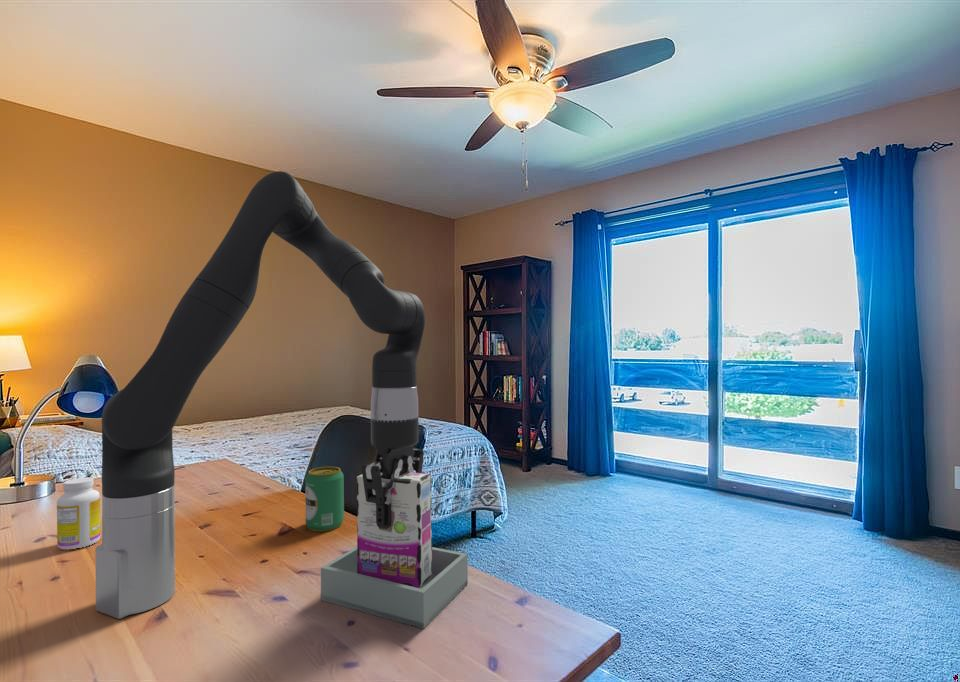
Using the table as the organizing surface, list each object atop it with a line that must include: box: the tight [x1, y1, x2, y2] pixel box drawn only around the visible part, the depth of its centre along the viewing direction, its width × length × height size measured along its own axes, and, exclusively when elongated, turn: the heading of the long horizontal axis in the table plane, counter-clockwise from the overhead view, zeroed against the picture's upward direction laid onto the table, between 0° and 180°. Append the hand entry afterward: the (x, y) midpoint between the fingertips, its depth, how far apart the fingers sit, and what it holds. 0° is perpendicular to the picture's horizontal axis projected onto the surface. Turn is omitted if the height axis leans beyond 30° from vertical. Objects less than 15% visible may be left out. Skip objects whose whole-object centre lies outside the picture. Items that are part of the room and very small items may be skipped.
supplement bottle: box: [56, 477, 101, 549], centre depth 97 cm, size 7×7×13 cm
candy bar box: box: [356, 471, 433, 588], centre depth 77 cm, size 11×5×16 cm, turn 73°
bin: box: [320, 546, 469, 630], centre depth 77 cm, size 14×19×5 cm
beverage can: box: [304, 466, 345, 532], centre depth 106 cm, size 8×8×12 cm
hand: (395, 520), depth 77 cm, fingers closed on candy bar box, 5 cm apart
